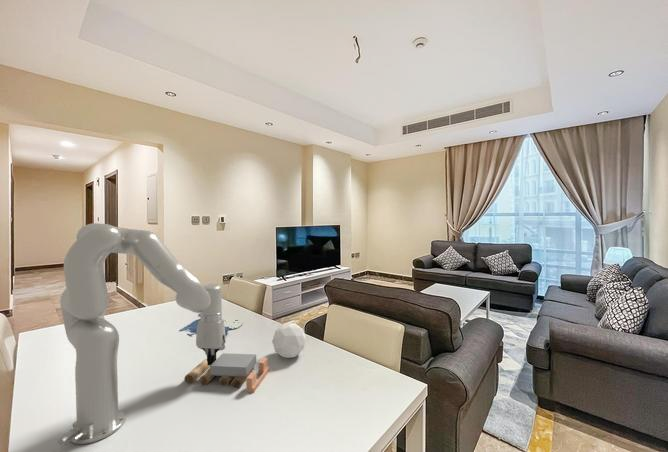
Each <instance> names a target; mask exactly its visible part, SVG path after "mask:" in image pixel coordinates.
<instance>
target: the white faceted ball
mask: <svg viewBox="0 0 668 452" xmlns="http://www.w3.org/2000/svg"><path fill="white" fill-rule="evenodd" d="M306 340H307V338H306V335H305V331H304V329H303V328H302V327H301V326H299V325H298V324H296V323H289V322H287V323H283V324H282V325H281V326H279V328H277V329H276V330H275V331H274V335H273V339H272V341H271V342H272V345H273V349H274V352H276V353H277V354H278V355H280V356H281V357H282V358H284V359H285V358H286V359H292V358H294V357H296V356H298V355H299V354H300V353H301V352H302V351H304V348H305V345H306Z"/></svg>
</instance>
